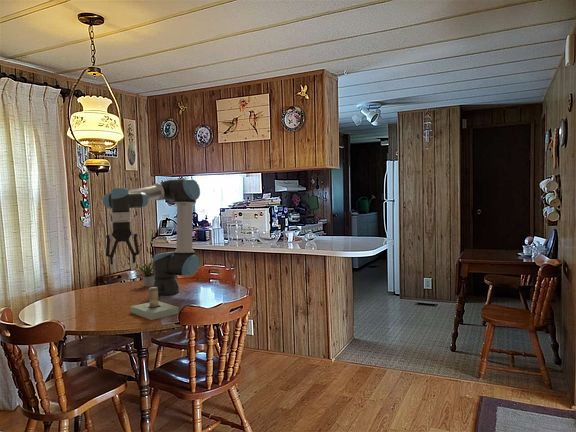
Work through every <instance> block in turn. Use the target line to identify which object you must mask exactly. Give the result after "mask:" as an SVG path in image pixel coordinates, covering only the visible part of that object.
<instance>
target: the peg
mask: <svg viewBox="0 0 576 432" xmlns="http://www.w3.org/2000/svg"><path fill="white" fill-rule="evenodd" d="M148 296H149V298H148V299H149V302H150V308H158V307H159V304H158V301H159V295H158V287H153V286H151V287H149V288H148Z"/></svg>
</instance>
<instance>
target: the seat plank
mask: <svg viewBox="0 0 576 432" xmlns="http://www.w3.org/2000/svg"><path fill="white" fill-rule="evenodd" d="M158 304H159V307H158V308H150V301H149V302H145V303H141V304H140V303H139V304H136V305H135V304H134V305H131V306H130V313H131V314H133V315H136V316H139V317H142V318H144V319H148V320H151V321H153V320H157V319H162V318H165V317H169V316H173V315H179V314H180V312H179V311H180V307H179V306H176V305H173V304H169V303H166V302H163V301H160V300H158ZM178 313H179V314H178Z"/></svg>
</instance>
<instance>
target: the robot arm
mask: <svg viewBox="0 0 576 432" xmlns="http://www.w3.org/2000/svg"><path fill="white" fill-rule="evenodd" d="M200 195H201V189H200V186H199V183H198V182H197V181H196V180H195V179H193V178H179V179H168V180H164V181H161V182H158V183H157V182H156V183H154V184H152V185H150V186H146V187H145V186H144V187H138V188H134V189H129V188H127V187H115V188H111V192H109V193H105V194H104V195H103V197H102V203H103V206H104V207H105V208H107V209H111V210H112V211H111V215H112V217H111V219H112V221H113V223H112V233H110V234H107V235H105V237H106V246H105V247H106V248H105V257H108V258H109V263H110V265H112V270H113V271H112V272H113V273H115V272H116V271H117V268H116V267H117V266H116V265H117V264H116V256H114V255H115V253H116V249H117V247H118V244H119V243H121V242H124V243H126V245H127V248H128V249H129V251H130V253H131V256H130V267H131V268H130V269H131V271H134V270H135V269H134V267H135V265H134V264H135V263H136V262H137V256H138V255H139V254H140V249H139V243H138V233H137V232H136V233H135V232H134V233H133V232H132V230H131V222H130V220H131V219H130V218H131V214H130V209H141V208H145V207H147V205H149V204H148V203H149V201H166V200H167V201H174V202H173V203H174V204H175V205H176V249H175V250H174V251H167V252H161V253H156V254H154V255H153V260H152V265H153V266H154V267H153V270H154V271H153V275H154V283H153V286H152V287H158V297H159V296H171V295H175V294H178V293H180V287H179V284H178V282H177V279H176V276H182V277H191V276H193V275H195V274H196V273H197V271H198V269H199V267H200V259H199V256H197V255H196V251H195V250H194V249H193V225H194V224H193V221H194V220H193V219H194V218H193V216H194V215H193V214H194V212H193V210H194V209H193V207H194V205H196V202H197V201H196V200H198V199H199V198H200ZM112 237H113V239H115V240H114V244H113V245H112V246H113V247H112V248H111V240H112ZM130 237H132V239H133V242H134V243H133V245H134V248H135V250H134V248H133V245H132V243H131V241H130ZM110 248H111V249H112V250H111V249H110ZM110 251H111V252H110Z"/></svg>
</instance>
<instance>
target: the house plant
mask: <svg viewBox="0 0 576 432" xmlns="http://www.w3.org/2000/svg"><path fill="white" fill-rule="evenodd" d="M146 262H147V264H146ZM146 262H144V261H142V262H141V263H142V264H140V266H141V267H140V266H137V268H138V269H139V271H140V272H142V273H143V274H144V275H142V281H143V284H144V287H146V288H148V287H149V288H151V287H153V283H154V265H153V260H151V261H150V262H149V261H148V260H147V261H146ZM150 286H151V287H150Z"/></svg>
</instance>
